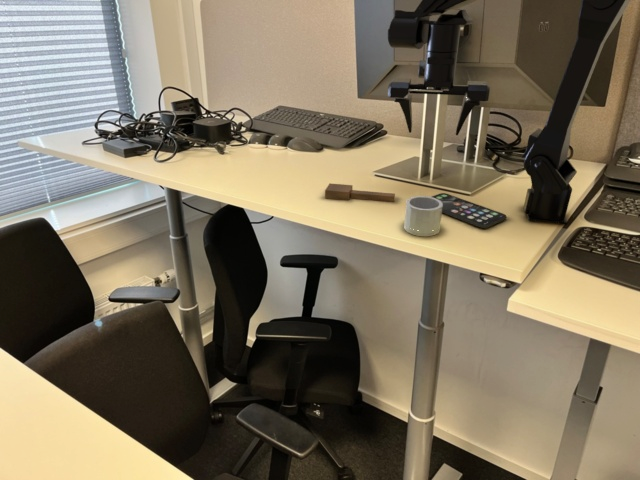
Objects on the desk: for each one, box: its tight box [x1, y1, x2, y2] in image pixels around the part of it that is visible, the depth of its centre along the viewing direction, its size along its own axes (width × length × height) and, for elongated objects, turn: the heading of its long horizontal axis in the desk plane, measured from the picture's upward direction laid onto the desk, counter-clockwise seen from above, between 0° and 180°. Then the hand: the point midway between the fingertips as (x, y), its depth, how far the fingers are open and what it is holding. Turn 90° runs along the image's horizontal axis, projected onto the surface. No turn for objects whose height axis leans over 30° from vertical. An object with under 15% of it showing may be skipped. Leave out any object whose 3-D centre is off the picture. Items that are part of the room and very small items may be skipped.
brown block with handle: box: [324, 182, 396, 203], centre depth 96 cm, size 14×4×2 cm, turn 76°
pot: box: [403, 195, 443, 237], centre depth 82 cm, size 6×6×5 cm
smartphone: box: [431, 192, 507, 229], centre depth 89 cm, size 7×1×15 cm
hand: (433, 133), depth 94 cm, fingers open, 9 cm apart
